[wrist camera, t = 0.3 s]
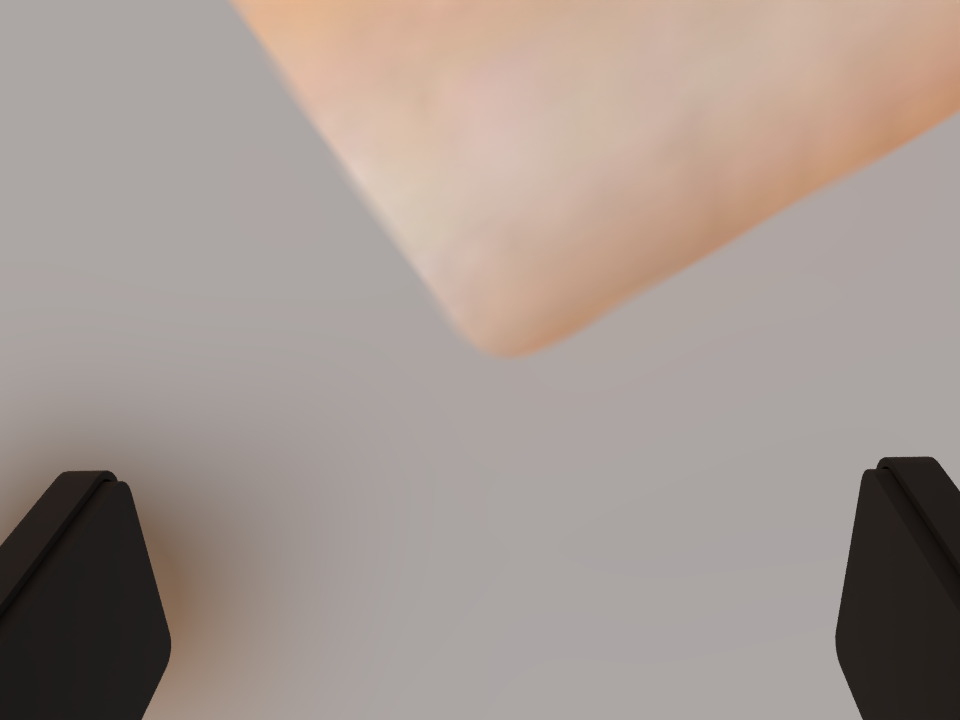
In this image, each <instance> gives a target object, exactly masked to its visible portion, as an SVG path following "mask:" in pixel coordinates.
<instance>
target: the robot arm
mask: <svg viewBox="0 0 960 720" xmlns="http://www.w3.org/2000/svg"><path fill="white" fill-rule="evenodd" d="M835 638H836V652H837V656H838V660H839V663H840V666H841V668H842V671H843V673H844V675H845V678H846V681H847V683H848V685H849V688H850V690H851V692H852V695H853V697H854V700H855V702H856V704H857V707H858V709H859V712H860V714H861V717H862V719H863V720H960V491H959V490H958V488H957V487H956V486H955V484H954V483H953V482H952V480H951V479H950V478H949V476H948V475H947V474H946V472H945V471H944V469H943V468H942V467H941V466H940V464H939V463H938V462H937V461H936V460H935V459H934V458H932V457H884V458H882V459H881V460H880V461H879V463H878V465H877V468H876V469H867V470H866V471H865V472H864V474H863V476H862V480H861V486H860V492H859V497H858V503H857V509H856V515H855V521H854V527H853V533H852V539H851V545H850V551H849V557H848V562H847V568H846V574H845V580H844V586H843V592H842V598H841V604H840V610H839V616H838V622H837V628H836V636H835ZM170 652H171V637H170V633H169V629H168V625H167V621H166V618H165V615H164V610H163V607H162V603H161V600H160V596H159V592H158V589H157V585H156V581H155V578H154V574H153V570H152V567H151V563H150V559H149V556H148V552H147V548H146V545H145V541H144V537H143V534H142V530H141V527H140V523H139V519H138V516H137V512H136V508H135V504H134V501H133V497H132V493H131V491H130V488H129V486H128V485H127V483H125V482H123V481H117V478H116V477H115V475H114V474H113V473H112V472H110V471H67V472H63V473H62V474H60V475H59V476H58V477H57V478H56V479H55V481H54V482H53V483H52V484H51V486H50V487H49V488H48V489H47V490H46V492H45V493H44V494H43V495H42V497H41V498H40V499H39V500H38V501H37V502H36V504H35V505H34V506H33V507H32V509H31V510H30V511H29V512H28V513H27V515H26V516H25V517H24V518H23V519H22V521H21V522H20V523H19V524H18V526H17V527H16V528H15V529H14V530H13V532H12V533H11V534H10V535H9V536H8V538H7V539H6V540H5V541H4V543H3V544H2V545H1V546H0V720H142V718H143V715H144V713H145V711H146V709H147V707H148V705H149V703H150V701H151V699H152V697H153V694H154V692H155V690H156V688H157V686H158V684H159V682H160V680H161V677H162V676H163V673H164V671H165V669H166V667H167V664H168V662H169V657H170Z"/></svg>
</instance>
